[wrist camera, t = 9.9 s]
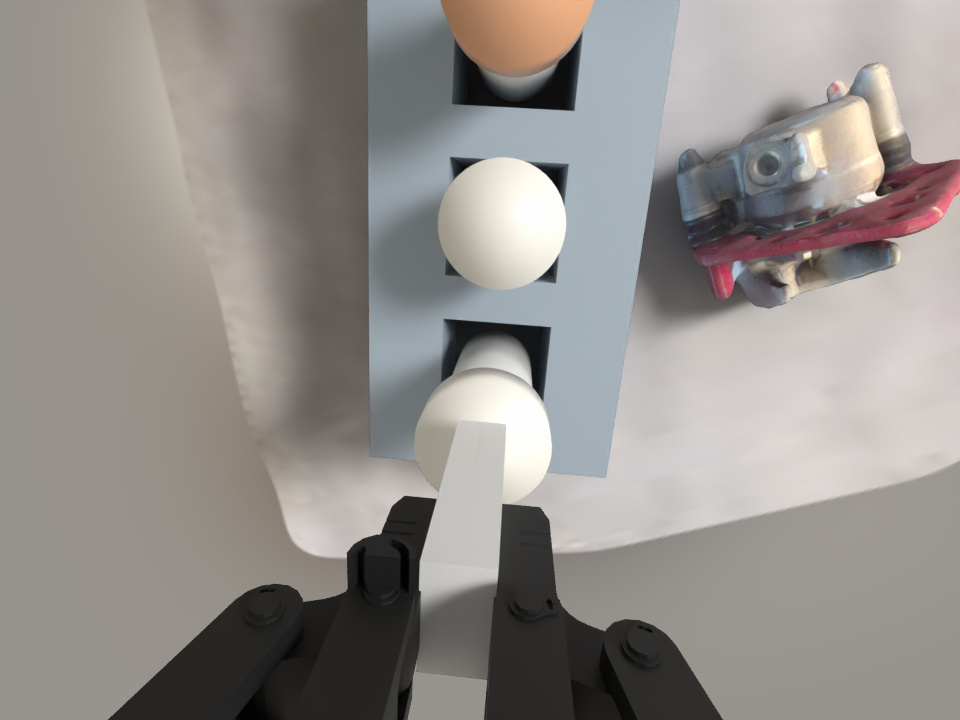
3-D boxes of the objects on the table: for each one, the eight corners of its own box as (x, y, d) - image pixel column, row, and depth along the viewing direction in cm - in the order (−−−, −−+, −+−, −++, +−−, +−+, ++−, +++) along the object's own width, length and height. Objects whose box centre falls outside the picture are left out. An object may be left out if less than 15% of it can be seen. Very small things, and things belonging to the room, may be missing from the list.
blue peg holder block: (406, -40, 25) (366, -126, 19) (649, -30, 25) (698, -116, 18) (400, 404, 32) (369, 456, 26) (587, 420, 32) (605, 477, 25)
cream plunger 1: (465, 169, 26) (440, 153, 18) (555, 174, 26) (573, 161, 17) (461, 259, 27) (435, 285, 19) (546, 265, 27) (558, 294, 19)
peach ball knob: (469, -5, 22) (439, -134, 14) (576, -1, 22) (611, -128, 13) (464, 111, 23) (433, 60, 15) (564, 116, 23) (589, 68, 15)
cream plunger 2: (450, 317, 25) (415, 377, 16) (545, 324, 24) (559, 389, 16) (446, 404, 26) (412, 501, 18) (536, 412, 26) (544, 513, 17)
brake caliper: (716, 372, 28) (764, 272, 17) (640, 217, 32) (640, 57, 21) (938, 297, 26) (1154, 129, 15) (826, 142, 30) (932, -77, 19)
